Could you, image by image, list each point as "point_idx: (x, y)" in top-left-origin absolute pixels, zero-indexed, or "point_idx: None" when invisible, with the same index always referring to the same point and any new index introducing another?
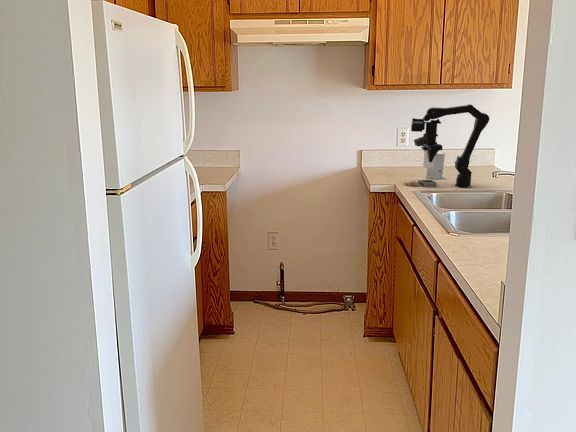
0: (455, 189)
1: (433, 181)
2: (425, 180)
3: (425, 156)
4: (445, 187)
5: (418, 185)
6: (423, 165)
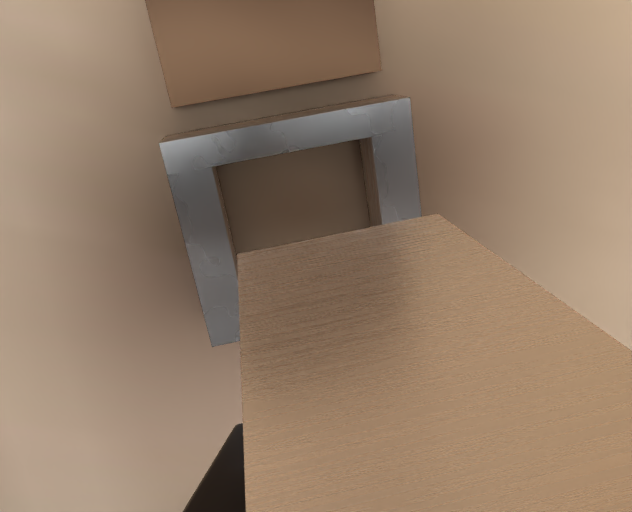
0: (40, 506)
1: None
2: (379, 212)
3: (452, 410)
4: (151, 416)
5: (158, 51)
6: (441, 225)
